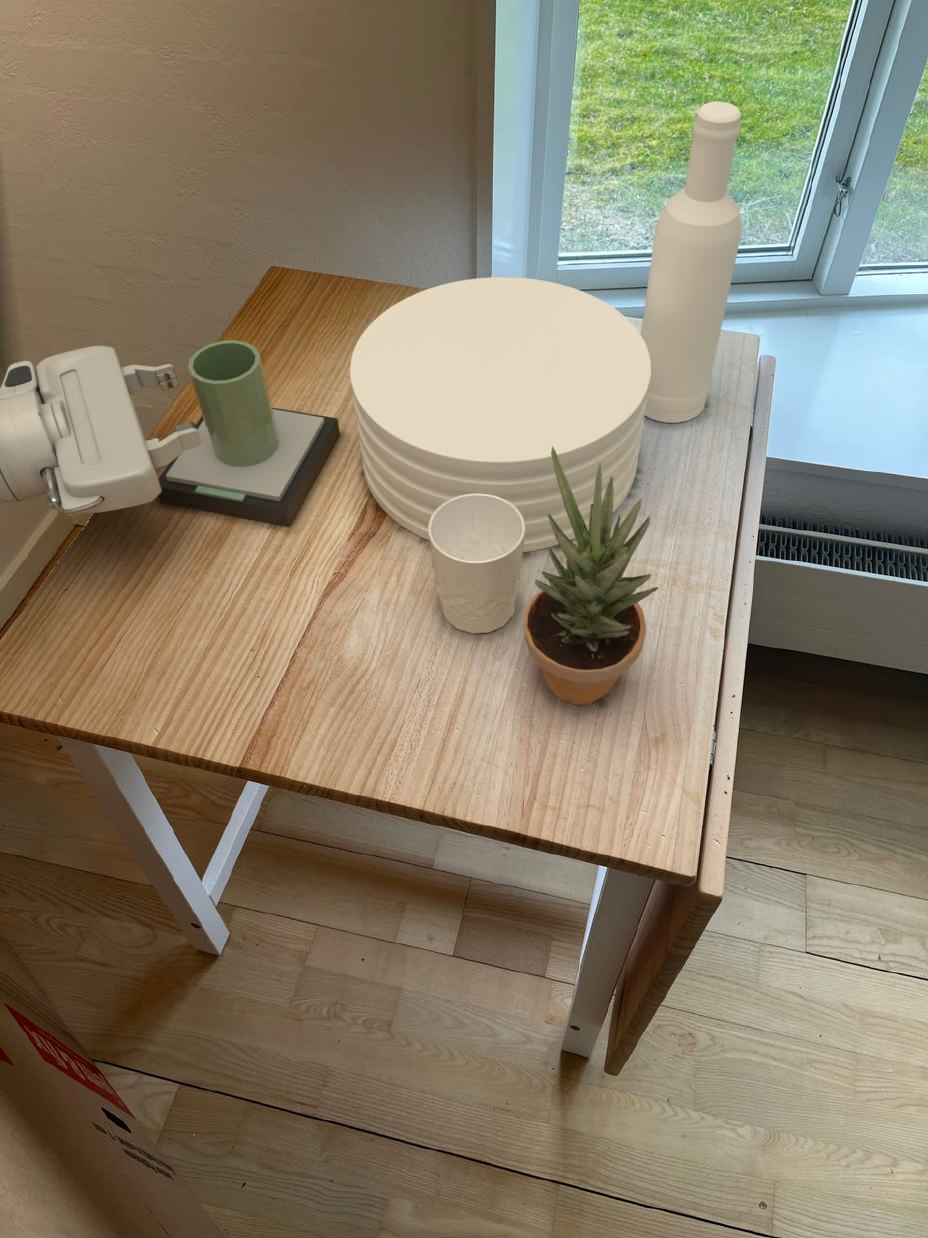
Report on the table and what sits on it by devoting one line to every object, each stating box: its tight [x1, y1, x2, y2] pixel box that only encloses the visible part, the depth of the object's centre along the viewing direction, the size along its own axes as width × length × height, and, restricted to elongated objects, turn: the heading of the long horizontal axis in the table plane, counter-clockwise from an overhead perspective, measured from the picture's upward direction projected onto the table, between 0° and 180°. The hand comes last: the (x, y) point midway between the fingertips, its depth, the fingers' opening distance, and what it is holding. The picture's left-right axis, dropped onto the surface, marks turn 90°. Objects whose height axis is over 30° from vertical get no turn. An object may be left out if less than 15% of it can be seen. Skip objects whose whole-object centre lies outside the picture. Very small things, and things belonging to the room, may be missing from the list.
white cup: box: [428, 493, 525, 634], centre depth 81 cm, size 8×8×10 cm
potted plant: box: [523, 446, 659, 706], centre depth 70 cm, size 10×10×25 cm
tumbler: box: [187, 339, 279, 467], centre depth 91 cm, size 6×6×10 cm
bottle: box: [640, 101, 743, 424], centre depth 90 cm, size 8×8×30 cm
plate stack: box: [349, 276, 651, 553], centre depth 93 cm, size 28×28×12 cm
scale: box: [156, 407, 341, 528], centre depth 96 cm, size 14×14×3 cm
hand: (187, 402), depth 88 cm, fingers open, 8 cm apart
